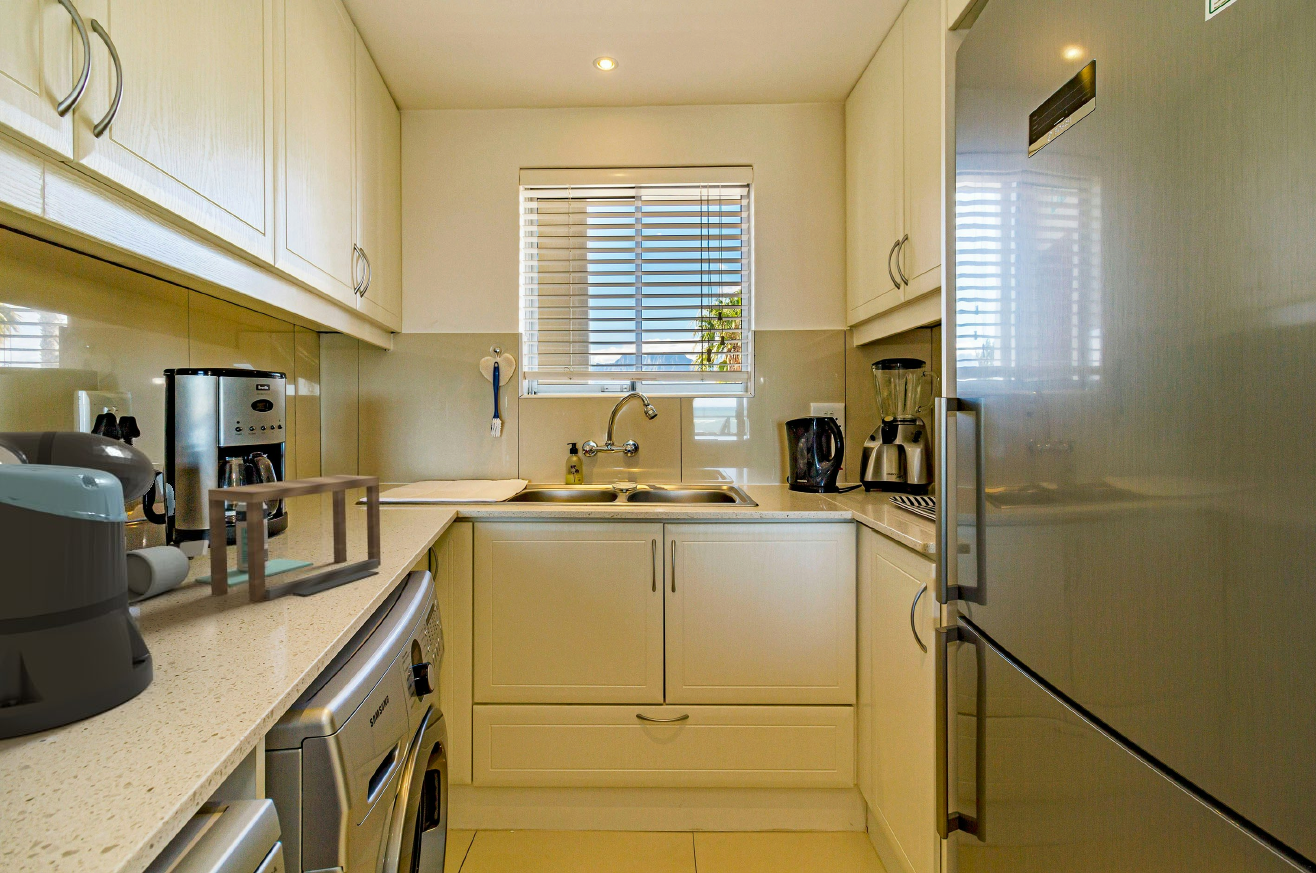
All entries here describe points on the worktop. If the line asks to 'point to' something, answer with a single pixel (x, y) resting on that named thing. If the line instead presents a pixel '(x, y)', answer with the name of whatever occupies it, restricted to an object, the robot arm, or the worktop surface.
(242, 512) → the beer can
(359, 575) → the mat
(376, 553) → the tunnel
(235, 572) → the mat
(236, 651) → the worktop surface
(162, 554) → the ceramic mug
